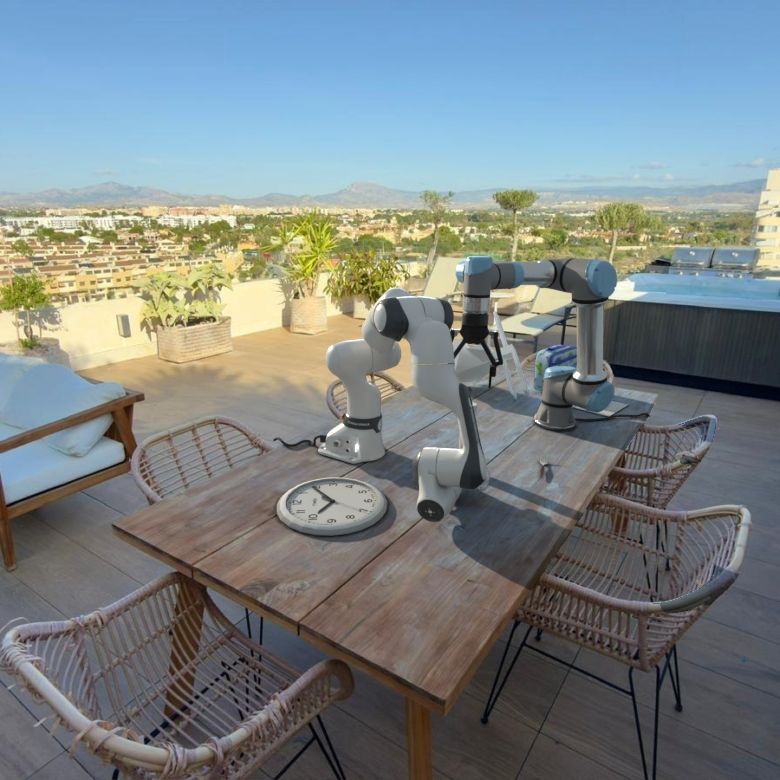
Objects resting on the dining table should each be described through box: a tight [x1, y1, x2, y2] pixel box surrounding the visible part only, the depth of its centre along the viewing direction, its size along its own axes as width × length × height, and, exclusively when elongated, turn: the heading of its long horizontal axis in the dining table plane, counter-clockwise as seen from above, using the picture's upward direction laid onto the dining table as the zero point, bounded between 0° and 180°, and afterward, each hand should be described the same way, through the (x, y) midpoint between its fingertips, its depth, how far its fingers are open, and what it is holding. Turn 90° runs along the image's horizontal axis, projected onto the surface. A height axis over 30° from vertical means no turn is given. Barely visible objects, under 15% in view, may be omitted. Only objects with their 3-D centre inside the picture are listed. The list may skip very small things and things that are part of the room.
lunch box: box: [533, 344, 577, 392], centre depth 247 cm, size 26×11×21 cm, turn 134°
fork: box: [539, 453, 550, 478], centre depth 166 cm, size 3×16×2 cm, turn 160°
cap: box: [472, 401, 478, 414], centre depth 158 cm, size 4×4×2 cm
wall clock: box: [276, 476, 388, 537], centre depth 142 cm, size 30×2×30 cm
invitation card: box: [573, 400, 629, 417], centre depth 226 cm, size 21×1×15 cm
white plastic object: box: [452, 310, 531, 400], centre depth 245 cm, size 37×45×31 cm
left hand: (459, 463), depth 155 cm, fingers open, 8 cm apart
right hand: (470, 385), depth 156 cm, fingers open, 10 cm apart
